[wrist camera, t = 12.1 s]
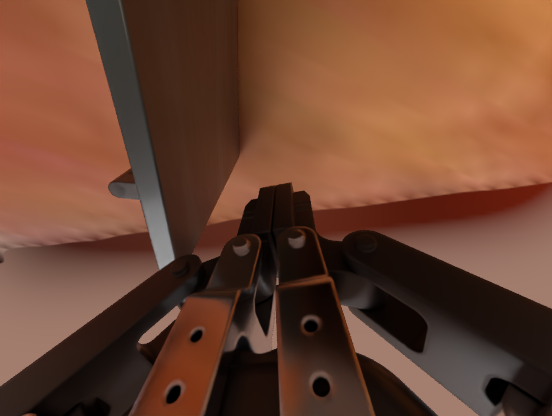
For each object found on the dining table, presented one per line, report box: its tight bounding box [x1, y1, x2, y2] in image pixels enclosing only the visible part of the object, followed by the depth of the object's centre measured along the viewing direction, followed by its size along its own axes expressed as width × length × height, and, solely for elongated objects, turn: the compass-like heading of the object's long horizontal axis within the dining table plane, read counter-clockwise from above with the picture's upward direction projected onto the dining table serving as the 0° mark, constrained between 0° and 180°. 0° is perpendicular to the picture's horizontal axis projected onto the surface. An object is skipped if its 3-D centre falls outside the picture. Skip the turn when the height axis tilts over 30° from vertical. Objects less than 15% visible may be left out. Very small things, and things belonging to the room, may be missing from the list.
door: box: [86, 0, 239, 270], centre depth 15 cm, size 6×17×18 cm, turn 176°
